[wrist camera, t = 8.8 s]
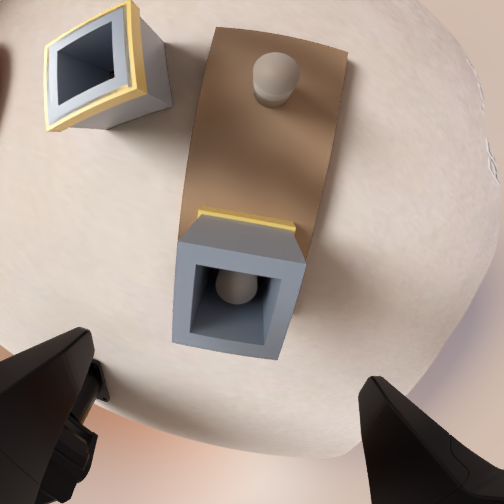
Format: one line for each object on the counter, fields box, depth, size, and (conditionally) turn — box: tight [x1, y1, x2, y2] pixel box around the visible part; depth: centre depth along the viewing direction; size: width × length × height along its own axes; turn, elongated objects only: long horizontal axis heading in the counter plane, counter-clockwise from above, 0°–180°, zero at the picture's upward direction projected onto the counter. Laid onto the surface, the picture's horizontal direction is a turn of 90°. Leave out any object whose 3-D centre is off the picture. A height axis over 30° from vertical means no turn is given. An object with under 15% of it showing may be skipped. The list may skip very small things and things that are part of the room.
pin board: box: [177, 27, 348, 304], centre depth 14 cm, size 18×8×5 cm, turn 170°
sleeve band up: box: [44, 0, 173, 132], centre depth 11 cm, size 5×5×6 cm
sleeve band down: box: [172, 206, 307, 360], centre depth 14 cm, size 5×5×6 cm
